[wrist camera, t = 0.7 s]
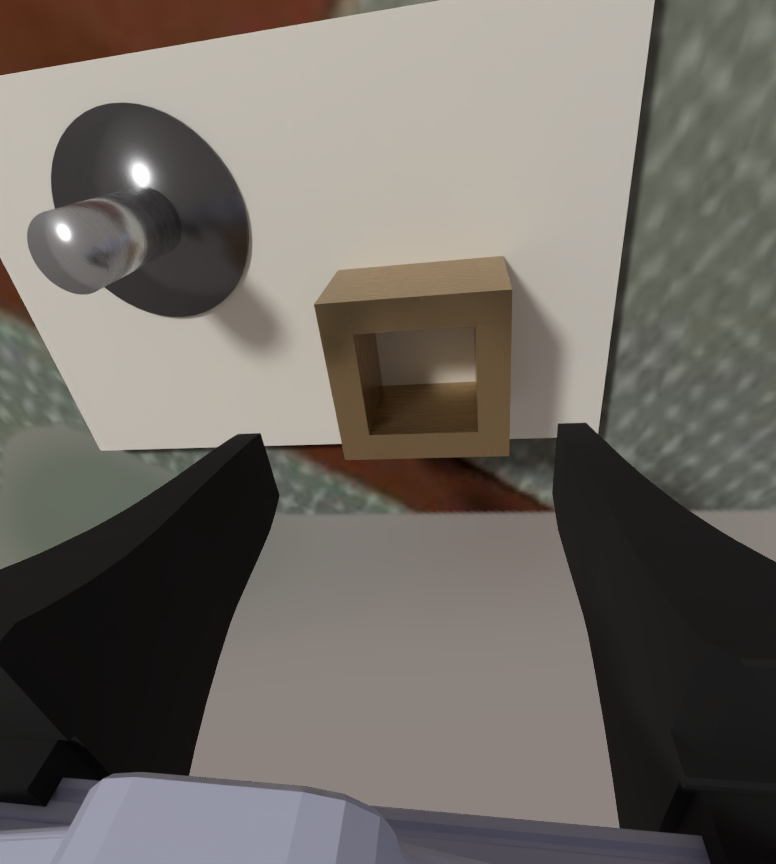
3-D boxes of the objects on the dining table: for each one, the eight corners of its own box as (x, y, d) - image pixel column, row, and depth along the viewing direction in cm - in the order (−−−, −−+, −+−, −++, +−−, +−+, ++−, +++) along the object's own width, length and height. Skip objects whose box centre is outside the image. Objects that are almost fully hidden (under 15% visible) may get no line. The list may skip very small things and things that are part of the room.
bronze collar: (503, 255, 17) (512, 289, 14) (502, 403, 20) (509, 456, 17) (338, 270, 17) (313, 304, 15) (361, 408, 20) (345, 460, 18)
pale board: (649, -31, 13) (659, -37, 12) (593, 425, 21) (597, 436, 20) (-65, 91, 17) (-87, 90, 16) (110, 440, 24) (100, 450, 23)
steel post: (214, 87, 15) (132, 84, 11) (269, 309, 19) (222, 362, 15) (16, 118, 16) (-119, 124, 12) (105, 321, 20) (22, 374, 16)
